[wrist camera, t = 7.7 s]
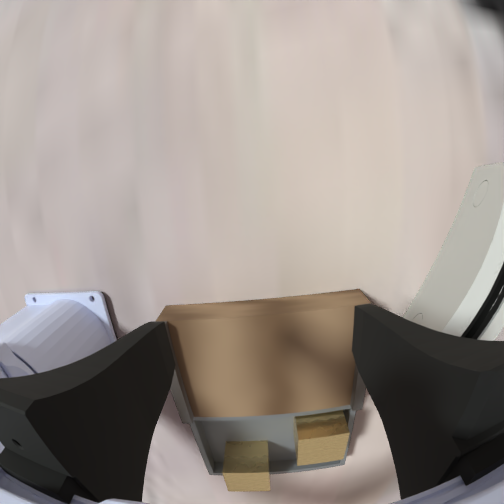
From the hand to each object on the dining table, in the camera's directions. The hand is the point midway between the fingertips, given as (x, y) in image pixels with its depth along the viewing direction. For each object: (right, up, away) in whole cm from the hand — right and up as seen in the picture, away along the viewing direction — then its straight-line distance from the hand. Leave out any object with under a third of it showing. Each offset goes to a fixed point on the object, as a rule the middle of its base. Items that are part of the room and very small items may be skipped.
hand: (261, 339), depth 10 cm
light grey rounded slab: (+15, +3, +9) cm, 18 cm away
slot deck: (+1, -4, +11) cm, 12 cm away
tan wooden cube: (+5, -10, +10) cm, 15 cm away
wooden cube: (-1, -15, +11) cm, 19 cm away
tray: (+2, -14, +13) cm, 19 cm away
